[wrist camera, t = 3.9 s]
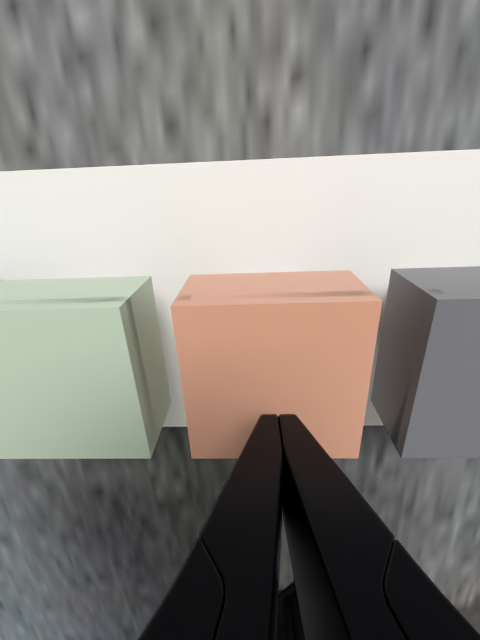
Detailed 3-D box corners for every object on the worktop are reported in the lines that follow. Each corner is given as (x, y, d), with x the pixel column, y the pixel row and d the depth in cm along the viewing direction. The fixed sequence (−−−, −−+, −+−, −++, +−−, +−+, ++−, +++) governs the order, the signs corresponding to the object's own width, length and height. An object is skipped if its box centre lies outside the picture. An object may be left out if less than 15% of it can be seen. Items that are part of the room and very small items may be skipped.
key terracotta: (350, 270, 10) (382, 301, 8) (336, 400, 12) (358, 458, 10) (190, 274, 11) (170, 306, 8) (203, 401, 13) (191, 458, 10)
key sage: (151, 275, 11) (119, 307, 8) (171, 401, 13) (150, 458, 10) (0, 280, 11) (-78, 312, 8) (44, 403, 13) (-6, 458, 10)
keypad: (539, 147, 11) (664, 135, 8) (458, 413, 16) (513, 478, 13) (-148, 179, 13) (-298, 180, 9) (-30, 417, 18) (-99, 477, 14)
